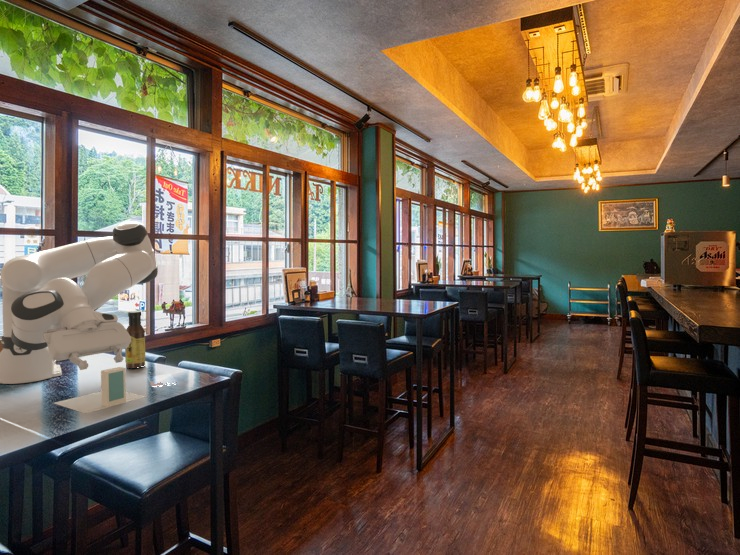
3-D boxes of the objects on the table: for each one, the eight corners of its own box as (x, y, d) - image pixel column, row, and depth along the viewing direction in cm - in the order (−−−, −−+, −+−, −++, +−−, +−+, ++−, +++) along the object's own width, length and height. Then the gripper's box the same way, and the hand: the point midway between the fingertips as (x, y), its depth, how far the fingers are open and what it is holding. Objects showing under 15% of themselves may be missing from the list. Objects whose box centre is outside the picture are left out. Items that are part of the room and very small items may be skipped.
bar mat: (53, 404, 121) (53, 402, 121) (113, 389, 135) (113, 388, 135) (85, 415, 113) (85, 413, 113) (146, 398, 127) (146, 396, 127)
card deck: (101, 405, 120) (100, 370, 119) (120, 400, 124) (119, 366, 123) (107, 406, 118) (106, 371, 118) (126, 401, 122) (125, 367, 122)
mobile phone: (170, 372, 152) (178, 383, 140) (170, 375, 152) (178, 386, 140) (145, 376, 148) (151, 386, 136) (145, 379, 148) (151, 390, 136)
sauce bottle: (123, 367, 163) (122, 311, 162) (143, 364, 167) (141, 309, 166) (128, 370, 158) (126, 312, 157) (147, 367, 162) (146, 311, 161)
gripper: (44, 323, 118) (65, 365, 114) (121, 314, 136) (142, 350, 131) (36, 338, 121) (56, 380, 116) (113, 328, 138) (133, 364, 134)
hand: (103, 364), depth 124 cm, fingers open, 8 cm apart
